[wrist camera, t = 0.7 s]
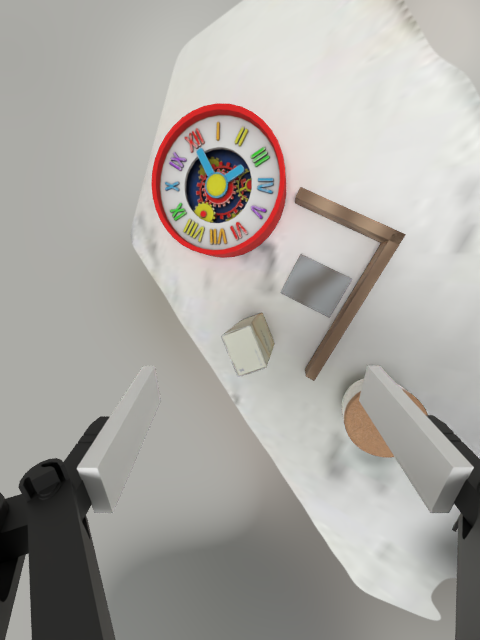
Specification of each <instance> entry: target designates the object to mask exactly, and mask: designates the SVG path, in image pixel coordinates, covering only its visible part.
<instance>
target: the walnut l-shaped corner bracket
mask: <svg viewBox="0 0 480 640" xmlns="http://www.w3.org/2000/svg"><path fill="white" fill-rule="evenodd" d="M295 203H296V204H298V205H300V206H302V207H305V208H307V209H309V210H311V211H313V212H315V213H318V214H320V215H322V216H324V217H326V218H328V219H331V220H333V221H335V222H337V223H339V224H341V225H344V226H346V227H348V228H350V229H352V230H354V231H357V232H359V233H361V234H363V235H365V236H368V237H370V238H372V239H374V240H376V241H378V242H381V244H380V246H379V248H378V249H377V251H376V253H375V254H374V256H373V258H372V259H371V261H370V263H369V264H368V266H367V268H366V269H365V271H364V273H363V274H362V276H361V278H360V279H359V281H358V282H357V284H356V286H355V287H354V289H353V291H352V292H351V294H350V296H349V297H348V299H347V301H346V302H345V304H344V306H343V307H342V309H341V311H340V312H339V314H338V316H337V317H336V319H335V320H334V322H333V324H332V325H331V327H330V329H329V330H328V332H327V334H326V335H325V337H324V339H323V340H322V342H321V344H320V345H319V347H318V349H317V350H316V352H315V354H314V355H313V357H312V358H311V360H310V362H309V363H308V365H307V367H306V368H305V374H306V377H308V378H310V379H312V380H315V379H316V377H317V375H318V374H319V372H320V371H321V369H322V367H323V366H324V364H325V363H326V361H327V359H328V358H329V356H330V355H331V353H332V351H333V350H334V348H335V347H336V345H337V343H338V342H339V340H340V339H341V337H342V335H343V334H344V332H345V331H346V329H347V327H348V326H349V324H350V323H351V321H352V319H353V318H354V316H355V315H356V313H357V311H358V310H359V308H360V307H361V305H362V304H363V302H364V300H365V299H366V297H367V296H368V294H369V292H370V291H371V289H372V288H373V286H374V284H375V283H376V281H377V280H378V278H379V276H380V275H381V273H382V272H383V270H384V268H385V267H386V265H387V264H388V262H389V260H390V259H391V257H392V256H393V254H394V252H395V251H396V249H397V248H398V246H399V244H400V243H401V241H402V240H403V238H404V236H405V235H406V234H403V233H401V232H399V231H397V230H394V229H392V228H390V227H388V226H386V225H383V224H381V223H379V222H377V221H375V220H372V219H370V218H368V217H366V216H364V215H361V214H359V213H357V212H355V211H352V210H350V209H348V208H346V207H344V206H341V205H339V204H337V203H335V202H333V201H330V200H328V199H326V198H324V197H322V196H319V195H317V194H315V193H313V192H310V191H308V190H306V189H304V188H302V187H300V189H299V191H298V193H297V195H296V198H295ZM351 281H352V278H349V277H347V276H345V275H343V274H341V273H339V272H337V271H335V270H333V269H331V268H329V267H327V266H325V265H323V264H320V263H318V262H316V261H314V260H312V259H310V258H308V257H306V256H304V255H302V254H301V255H300V257H299V259H298V260H297V262H296V264H295V266H294V268H293V270H292V272H291V274H290V276H289V278H288V280H287V281H286V283H285V285H284V287H283V289H282V291H281V293H282V294H284V295H286V296H288V297H290V298H292V299H293V300H295V301H297V302H299V303H301V304H303V305H305V306H307V307H309V308H311V309H313V310H315V311H317V312H319V313H321V314H323V315H325V316H327V317H329V318H330V316H331V314H332V313H333V311H334V309H335V308H336V306H337V304H338V302H339V301H340V299H341V297H342V296H343V294H344V292H345V291H346V289H347V287H348V286H349V284H350V282H351Z"/></svg>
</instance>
